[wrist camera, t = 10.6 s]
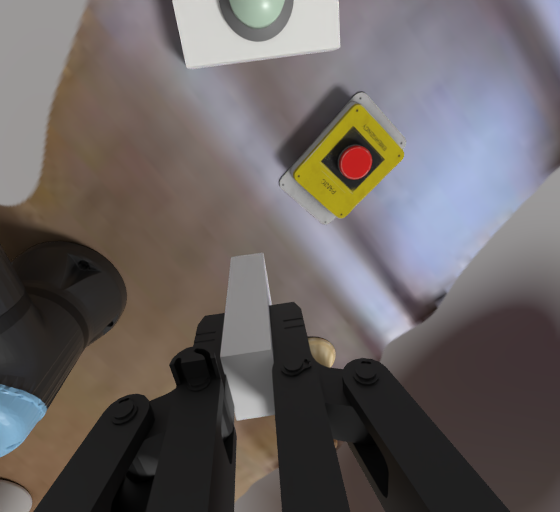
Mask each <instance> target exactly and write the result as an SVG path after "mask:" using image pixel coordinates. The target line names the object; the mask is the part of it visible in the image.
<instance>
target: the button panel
mask: <svg viewBox="0 0 560 512" xmlns="http://www.w3.org/2000/svg"><path fill="white" fill-rule="evenodd" d="M172 2H173V6H174V11H175V16H176V20H177V25H178V30H179V35H180V39H181V44H182V49H183V53H184V58H185V63H186V68H189V69H197V68H204V67H212V66H220V65H227V64H235V63H242V62H250V61H258V60H265V59H273V58H280V57H288V56H296V55H303V54H311V53H318V52H326V51H333V50H336V49H338V48H340V29H339V0H285V2H284V5H283V8H282V10H281V13H280V15H279V16H278V18H277V19H276V21H275V22H274V23H273V24H271V25H270V26H268V27H266V28H263V29H252V28H249V27H247V26H245V25H244V24H242V23H241V22H240V21H239V20H238V19H237V17H236V16H235V14H234V13H233V11H232V8H231V5H230V1H229V0H172Z"/></svg>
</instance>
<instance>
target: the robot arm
mask: <svg viewBox="0 0 560 512" xmlns="http://www.w3.org/2000/svg"><path fill="white" fill-rule="evenodd" d="M126 300H127V293H126V287H125V284H124V281H123V279H122V277H121V275H120V274H119V272H118V271H117V269H116V268H115V267H114V266H113V265H112V264H111V263H110V262H109V261H108V260H107V259H106V258H104V257H103V256H102V255H100V254H99V253H97V252H95V251H93V250H91V249H89V248H87V247H85V246H82V245H78V244H75V243H70V242H61V241H55V242H46V243H41V244H38V245H35V246H33V247H31V248H29V249H28V250H26V251H25V252H23V253H22V254H21V255H19V256H18V257H17V258H15V259H14V260H13V261H12V262H11V263H10V261H9V259H8V257H7V255H6V253H5V252H4V250H3V248H2V246H1V244H0V457H2V456H4V455H6V454H8V453H10V452H11V451H13V450H14V449H15V448H17V447H18V446H19V445H20V444H21V443H22V442H23V441H24V440H25V439H26V437H27V436H28V434H29V433H30V432H31V430H32V429H33V428H34V426H35V425H36V424H37V422H38V421H40V420H41V419H42V418H43V416H44V415H45V413H46V411H47V409H48V407H49V406H50V404H51V403H52V401H53V399H54V398H55V396H56V394H57V393H58V391H59V390H60V388H61V386H62V385H63V383H64V381H65V380H66V378H67V376H68V375H69V373H70V372H71V370H72V368H73V367H74V365H75V363H76V362H77V360H78V358H79V357H80V355H81V354H82V352H83V350H84V349H85V348H86V347H87V346H89V345H90V344H92V343H93V342H94V341H96V340H97V339H99V338H100V337H101V336H103V335H104V334H106V333H107V332H108V331H109V330H111V329H112V328H113V327H114V325H115V324H116V323H117V321H118V320H119V318H120V316H121V314H122V313H123V311H124V309H125V306H126ZM169 366H170V368H171V371H172V374H173V377H174V379H175V382H176V385H177V386H176V389H174V390H173V391H171V392H170V393H168V394H166V395H163V396H161V397H159V398H156V399H154V400H151V401H149V400H148V399H147V398H146V397H145V396H144V395H140V394H131V395H127V396H125V397H122V398H120V399H118V400H117V401H115V402H114V403H112V404H111V405H110V406H109V407H108V408H107V409H106V410H105V411H104V413H103V414H102V415H101V417H100V418H99V420H98V421H97V423H96V424H95V425H94V427H93V428H92V430H91V431H90V432H89V434H88V435H87V437H86V438H85V440H84V441H83V442H82V444H81V445H80V447H79V448H78V449H77V451H76V452H75V454H74V455H73V456H72V458H71V459H70V461H69V462H68V464H67V465H66V466H65V468H64V469H63V471H62V472H61V473H60V475H59V476H58V478H57V479H56V480H55V482H54V483H53V485H52V486H51V488H50V489H49V490H48V492H47V493H46V495H45V496H44V497H43V499H42V500H41V502H40V503H39V504H38V506H37V507H36V509H35V510H34V512H234V497H235V468H236V440H237V436H236V430H235V427H234V412H235V415H236V419H237V420H244V419H250V418H257V417H263V416H270V415H275V421H276V434H277V448H278V461H279V474H280V488H281V501H282V512H350V509H349V504H348V500H347V496H346V491H345V487H344V483H343V479H342V475H341V471H340V466H339V462H338V458H337V453H336V449H335V445H334V441H333V439H334V440H340V441H346V442H347V443H348V445H349V447H350V449H351V450H352V452H353V454H354V456H355V458H356V459H357V461H358V463H359V465H360V467H361V468H362V470H363V472H364V474H365V476H366V477H367V479H368V481H369V483H370V485H371V487H372V488H373V490H374V492H375V494H376V495H377V497H378V499H379V501H380V503H381V505H382V507H383V508H384V510H385V512H510V511H509V510H508V508H507V507H506V506H505V505H504V504H503V503H502V502H501V500H500V499H499V498H498V497H497V496H496V495H495V493H494V492H493V491H492V490H491V489H490V488H489V486H488V485H487V484H486V483H485V482H484V480H483V479H482V478H481V477H480V476H479V475H478V473H477V472H476V471H475V470H474V469H473V468H472V467H471V465H470V464H469V463H468V462H467V461H466V460H465V458H464V457H463V456H462V455H461V454H460V453H459V451H458V450H457V449H456V448H455V447H454V446H453V444H452V443H451V442H450V441H449V440H448V439H447V437H446V436H445V435H444V434H443V433H442V432H441V431H440V429H439V428H438V427H437V426H436V425H435V424H434V422H432V420H431V419H430V418H429V417H428V416H427V414H426V413H425V412H424V411H423V410H422V408H421V407H420V406H419V405H418V404H417V403H416V401H415V400H414V399H413V398H412V397H411V396H410V394H409V393H408V392H407V391H406V390H405V389H404V387H403V386H402V385H401V384H400V383H399V382H398V380H397V379H396V378H395V377H394V376H393V375H392V374H391V373H390V371H389V370H388V369H387V368H386V367H385V366H384V365H383V364H381V363H380V362H378V361H375V360H373V359H366V358H361V359H355V360H353V361H351V362H349V363H347V365H346V366H345V367H344V369H336V368H330V367H326V366H324V365H321V364H320V363H318V362H317V361H316V360H315V359H314V358H313V356H312V354H311V350H310V346H309V341H308V337H307V333H306V329H305V324H304V320H303V316H302V311H301V308H300V307H299V306H298V305H297V304H295V303H294V302H290V303H283V304H276V305H271V297H270V291H269V285H268V279H267V272H266V266H265V260H264V254H263V253H257V254H250V255H243V256H236V257H231V264H230V273H229V282H228V291H227V300H226V309H225V313H222V314H215V315H208V316H205V317H204V318H203V319H202V320H201V322H200V323H199V324H198V327H197V331H196V336H195V340H194V345H193V347H189V348H186V349H184V350H183V351H181V352H179V353H178V354H177V355H176V356H175V357H174V358H173V359H172V361H171V363H170V364H169Z"/></svg>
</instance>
